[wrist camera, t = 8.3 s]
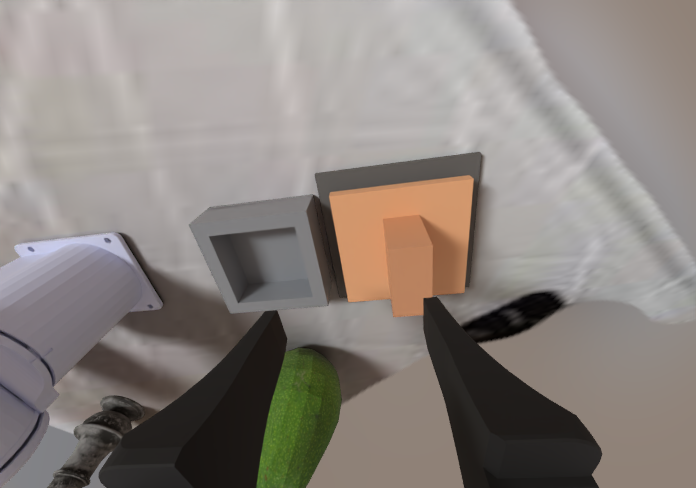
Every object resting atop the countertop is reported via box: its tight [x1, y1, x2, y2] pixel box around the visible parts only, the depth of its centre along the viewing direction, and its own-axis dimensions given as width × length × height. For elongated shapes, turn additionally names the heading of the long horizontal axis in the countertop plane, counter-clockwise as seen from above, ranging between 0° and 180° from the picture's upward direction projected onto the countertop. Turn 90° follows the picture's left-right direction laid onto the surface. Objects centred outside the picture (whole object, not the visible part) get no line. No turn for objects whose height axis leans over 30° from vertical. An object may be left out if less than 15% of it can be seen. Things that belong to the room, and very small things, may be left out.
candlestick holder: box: [47, 396, 145, 488], centre depth 31 cm, size 6×6×12 cm
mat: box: [315, 152, 481, 298], centre depth 22 cm, size 11×11×1 cm
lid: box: [329, 175, 474, 317], centre depth 19 cm, size 9×9×6 cm
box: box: [189, 195, 332, 314], centre depth 21 cm, size 8×8×3 cm
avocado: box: [256, 348, 342, 488], centre depth 24 cm, size 8×8×12 cm
